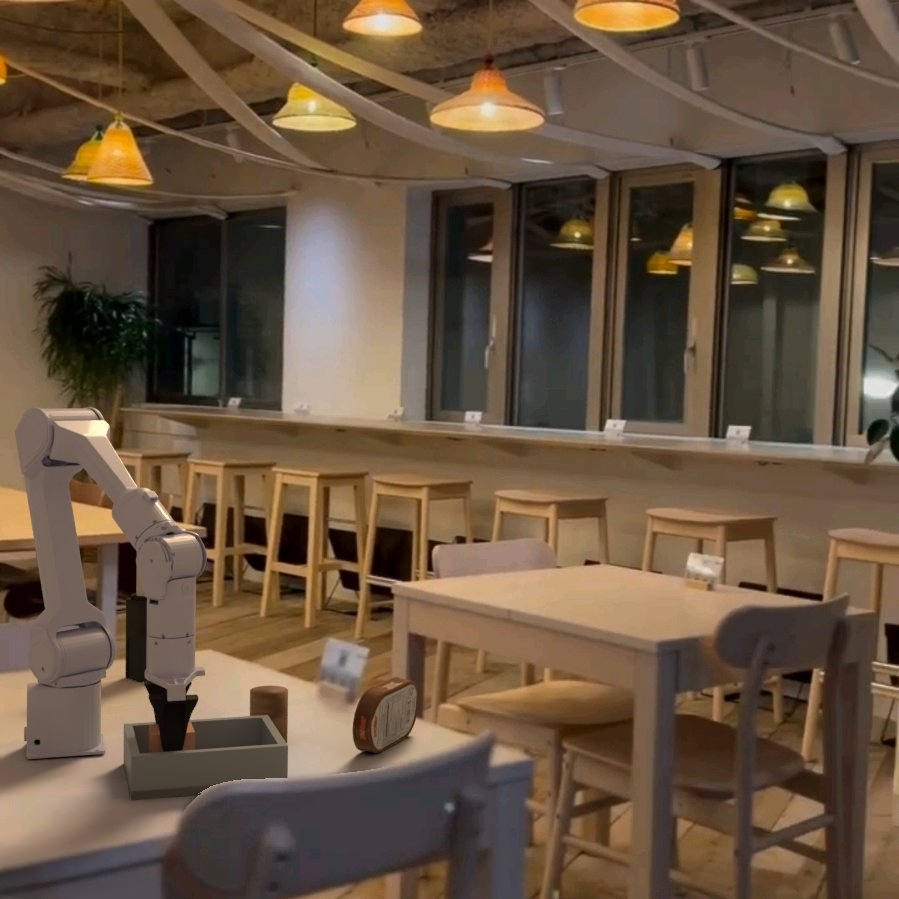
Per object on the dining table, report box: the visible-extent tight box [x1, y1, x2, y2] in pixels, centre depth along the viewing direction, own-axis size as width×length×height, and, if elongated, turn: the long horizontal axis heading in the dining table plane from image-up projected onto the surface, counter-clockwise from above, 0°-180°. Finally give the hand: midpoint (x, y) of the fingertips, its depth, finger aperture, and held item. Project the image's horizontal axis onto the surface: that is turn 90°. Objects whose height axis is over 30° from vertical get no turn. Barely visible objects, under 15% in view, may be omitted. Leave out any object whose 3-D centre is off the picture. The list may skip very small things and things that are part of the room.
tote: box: [123, 715, 289, 801], centre depth 151 cm, size 18×14×5 cm
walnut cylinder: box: [249, 685, 289, 744], centre depth 166 cm, size 5×5×7 cm
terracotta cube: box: [149, 722, 195, 753], centre depth 150 cm, size 5×5×5 cm
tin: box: [352, 676, 419, 754], centre depth 166 cm, size 15×3×8 cm, turn 156°
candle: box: [124, 552, 147, 683], centre depth 199 cm, size 5×5×25 cm
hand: (170, 745), depth 150 cm, fingers open, 5 cm apart
